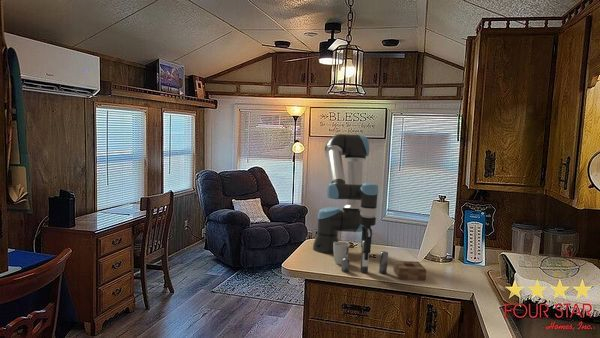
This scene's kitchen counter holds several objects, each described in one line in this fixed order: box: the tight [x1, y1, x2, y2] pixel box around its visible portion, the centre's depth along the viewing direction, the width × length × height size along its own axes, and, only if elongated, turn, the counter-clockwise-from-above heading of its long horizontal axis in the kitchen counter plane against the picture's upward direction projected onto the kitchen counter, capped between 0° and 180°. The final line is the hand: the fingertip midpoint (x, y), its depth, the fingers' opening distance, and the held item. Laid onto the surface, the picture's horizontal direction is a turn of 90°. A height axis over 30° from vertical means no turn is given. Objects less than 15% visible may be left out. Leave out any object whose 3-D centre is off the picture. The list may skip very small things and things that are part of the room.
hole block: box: [392, 260, 427, 281], centre depth 204 cm, size 12×12×5 cm
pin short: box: [340, 257, 351, 273], centre depth 205 cm, size 4×4×6 cm
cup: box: [333, 241, 350, 266], centre depth 217 cm, size 8×8×10 cm
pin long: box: [359, 240, 369, 274], centre depth 205 cm, size 4×4×15 cm
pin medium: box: [378, 251, 389, 275], centre depth 206 cm, size 4×4×10 cm
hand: (364, 264), depth 205 cm, fingers closed on pin long, 4 cm apart
